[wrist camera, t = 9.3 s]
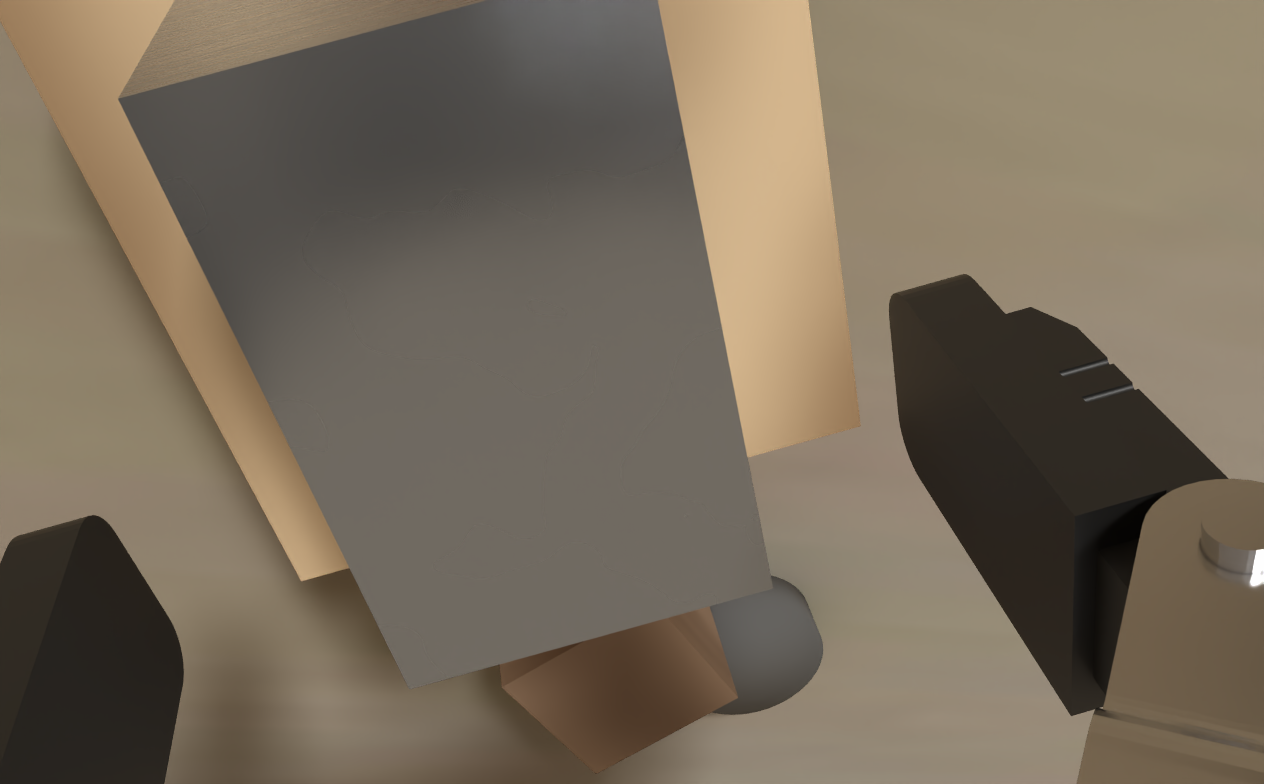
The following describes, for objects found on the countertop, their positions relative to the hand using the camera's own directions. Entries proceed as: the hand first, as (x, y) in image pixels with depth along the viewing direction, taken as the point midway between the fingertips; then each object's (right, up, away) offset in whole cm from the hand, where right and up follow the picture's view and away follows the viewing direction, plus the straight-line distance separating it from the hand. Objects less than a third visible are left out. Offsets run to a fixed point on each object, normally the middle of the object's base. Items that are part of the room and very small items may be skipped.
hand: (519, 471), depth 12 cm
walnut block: (0, -4, +18) cm, 19 cm away
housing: (-1, +4, +5) cm, 6 cm away
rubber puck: (+4, -6, +20) cm, 21 cm away
